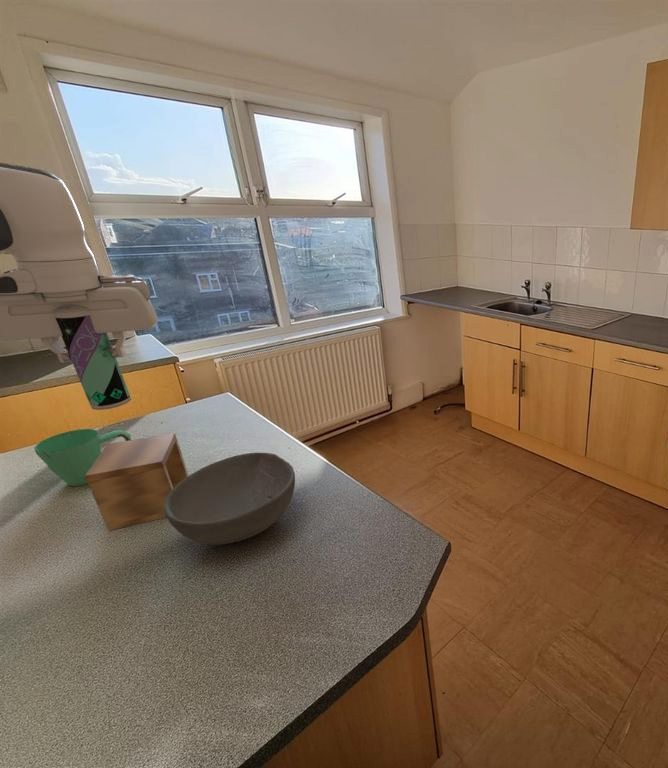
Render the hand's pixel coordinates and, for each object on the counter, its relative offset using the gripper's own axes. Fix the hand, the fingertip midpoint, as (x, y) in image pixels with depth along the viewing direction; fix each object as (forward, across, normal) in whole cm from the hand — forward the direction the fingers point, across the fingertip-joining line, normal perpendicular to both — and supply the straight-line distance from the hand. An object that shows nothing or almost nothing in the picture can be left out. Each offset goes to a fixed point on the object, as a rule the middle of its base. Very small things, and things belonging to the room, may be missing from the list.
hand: (94, 358), depth 74 cm
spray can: (+9, 0, 0) cm, 9 cm away
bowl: (+32, -17, +14) cm, 39 cm away
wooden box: (+32, 0, -1) cm, 32 cm away
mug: (+32, +13, -18) cm, 39 cm away
